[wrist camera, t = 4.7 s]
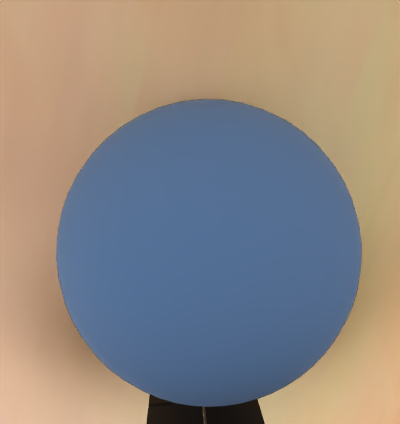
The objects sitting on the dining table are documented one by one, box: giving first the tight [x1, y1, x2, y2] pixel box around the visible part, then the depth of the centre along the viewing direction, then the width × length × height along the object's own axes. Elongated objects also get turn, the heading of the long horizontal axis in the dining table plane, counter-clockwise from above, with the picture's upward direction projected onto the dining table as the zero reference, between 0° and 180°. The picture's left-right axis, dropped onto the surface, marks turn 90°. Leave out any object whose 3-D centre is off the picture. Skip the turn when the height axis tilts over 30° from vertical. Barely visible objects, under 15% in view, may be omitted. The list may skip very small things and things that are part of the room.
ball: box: [56, 99, 362, 407], centre depth 7 cm, size 6×6×6 cm
